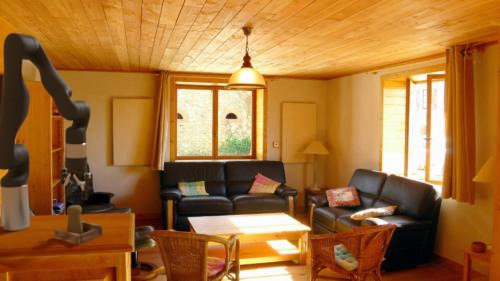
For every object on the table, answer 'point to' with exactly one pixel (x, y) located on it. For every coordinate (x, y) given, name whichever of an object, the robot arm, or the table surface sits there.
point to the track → (89, 233)
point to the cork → (74, 219)
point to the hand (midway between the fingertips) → (76, 197)
